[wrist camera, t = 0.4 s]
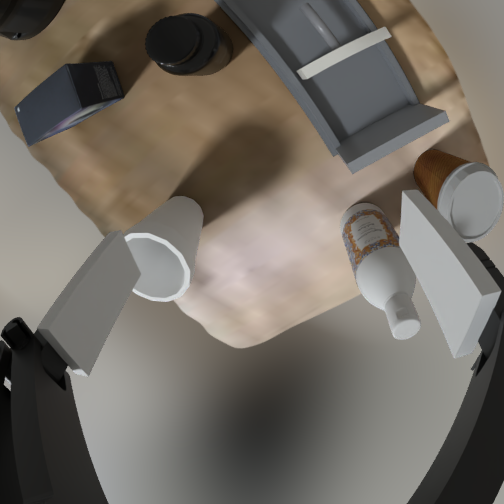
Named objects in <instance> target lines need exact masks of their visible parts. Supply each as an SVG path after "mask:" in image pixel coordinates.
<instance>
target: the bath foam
mask: <svg viewBox="0 0 504 504" xmlns="http://www.w3.org/2000/svg"><path fill="white" fill-rule="evenodd" d="M340 231H341V234H342V237H343V241H344V244H345V247H346V250H347V253H348V256H349V259H350V262H351V266H352V269H353V272H354V276H355V279H356V282H357V285H358V287H359V289H360V291H361V293H362V295H363V296H364V297H365V299H366V300H367V301H368V302H370V303H371V304H372V305H374V306H375V307H377V308H379V309H381V310H384V311H385V312H386V316H387V319H388V322H389V325H390V328H391V331H392V334H393V336H394V337H395V338H396V339H400V340H403V339H408V338H410V337H412V336H414V335H415V334H416V333H417V332H418V331H419V329H420V327H421V322H420V319H419V316H418V314H417V311H416V309H415V307H414V304H413V302H412V300H411V298H412V295H413V292H414V288H415V284H416V275H415V273H414V271H413V269H412V267H411V265H410V263H409V262H408V260H407V258H406V256H405V254H404V253H403V251H402V249H401V247H400V246H399V236H398V234H397V233H396V231H395V229H394V228H393V226H392V225H391V223H390V222H389V220H388V218H387V217H386V216H385V214H384V213H383V211H382V210H381V209H380V208H379V207H378V206H376V205H374V204H371V203H360V204H357V205H354V206H352V207H351V208H349V209H348V210H347V211H346V212H345V214H344V215H343V217H342V219H341V223H340Z"/></svg>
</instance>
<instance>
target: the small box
mask: <svg viewBox="0 0 504 504" xmlns="http://www.w3.org/2000/svg"><path fill="white" fill-rule="evenodd" d="M123 98H124V94H123V90H122V88H121V85H120V82H119V79H118V76H117V73H116V70H115V67H114V64H113V62H112V61H106V62H92V63H77V64H65V65H64V66H62V67H61V68H60V69H58V70H57V71H56V72H55V73H53V74H52V75H51V76H50V77H48V78H47V79H46V80H45V81H43V82H42V83H41V84H40V85H39V86H37V87H36V88H35V89H34V90H33V91H32V92H31V93H29V94H28V95H27V96H26V97H25V98H24V99H23V100H22V101H21V102H20V103H19V104H18V105H17V106H16V107H15V108H14V109H15V112H16V115H17V118H18V121H19V124H20V127H21V129H22V132H23V135H24V137H25V140H26V142H27V145H28V147H29V146H31V145H33V144H35V143H38V142H40V141H42V140H44V139H46V138H48V137H51V136H53V135H55V134H57V133H60V132H62V131H64V130H67V129H69V128H71V127H74V126H75V125H77V124H79V123H80V122H82V121H84V120H85V119H87V118H89V117H90V116H92V115H94V114H96V113H97V112H99V111H101V110H103V109H105V108H106V107H108V106H110V105H112V104H114V103H116V102H117V101H119V100H121V99H123Z"/></svg>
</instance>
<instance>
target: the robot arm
mask: <svg viewBox="0 0 504 504" xmlns="http://www.w3.org/2000/svg"><path fill="white" fill-rule="evenodd" d="M63 2H64V0H0V36H2V37H5V38H8V39H10V40H26V39H30V38H32V37H34V36H36V35H37V34H39V33H40V32H41V31H42V30H43V29H44V28H46V26H47V25H48V24H49V23H50V22H51V21H52V20H53V18H54V17H55V15H56V14H57V12H58V11H59V9H60V8H61V6H62V4H63ZM399 246H400V247H401V249H402V251H403V253H404V254H405V256H406V258H407V260H408V262H409V263H410V265H411V267H412V269H413V271H414V273H415V275H416V277H417V279H418V280H419V282H420V284H421V286H422V288H423V290H424V292H425V294H426V296H427V298H428V300H429V302H430V305H431V307H432V309H433V311H434V313H435V315H436V317H437V320H438V322H439V324H440V326H441V329H442V331H443V333H444V336H445V338H446V341H447V343H448V345H449V348H450V350H451V353H452V355H453V358H458V357H461V356H465V355H468V354H471V353H472V352H473V350H474V348H475V347H476V345H477V343H478V342H479V344H480V346H481V349H482V351H481V353H480V355H479V357H478V358H477V360H476V362H475V363H474V365H473V367H472V368H471V370H474V369H475V370H474V373H473V376H472V379H471V382H470V384H469V387H468V390H467V392H466V395H465V397H464V400H463V402H462V405H461V408H460V410H459V412H458V414H457V417H456V419H455V421H454V423H453V425H452V427H451V430H450V432H449V434H448V436H447V438H446V440H445V442H444V444H443V446H442V448H441V449H440V451H439V454H438V455H437V457H436V459H435V460H434V462H433V464H432V466H431V467H430V469H429V471H428V472H427V474H426V476H425V477H424V479H423V480H422V482H421V484H420V485H419V487H418V489H417V490H416V491H415V493H414V494H413V496H412V497H411V499H410V500H409V502H408V503H407V504H493V502H494V500H495V498H496V496H497V494H498V492H499V490H500V488H501V485H502V483H503V481H504V277H503V275H502V274H501V273H500V271H499V270H498V269H497V268H495V265H494V263H493V262H492V261H491V260H490V258H489V257H488V256H487V255H486V253H485V252H484V251H483V250H482V249H481V248H480V247H478V246H477V245H475V244H474V243H472V242H470V243H465V241H464V240H463V239H462V238H461V236H460V235H459V234H458V233H457V232H456V231H455V229H454V228H453V227H452V226H451V225H450V224H449V223H448V221H447V220H446V219H445V218H444V217H443V216H442V215H441V214H440V213H439V211H438V210H437V209H436V208H435V207H434V206H433V205H432V204H431V203H430V202H429V201H428V200H427V199H426V198H425V197H424V196H423V195H422V194H421V193H420V192H419V191H418V190H404V191H402V208H401V225H400V238H399ZM140 276H141V272H140V270H139V268H138V266H137V264H136V262H135V260H134V258H133V256H132V253H131V251H130V249H129V247H128V245H127V242H126V240H125V238H124V236H123V233H122V231H121V230H119V231H114V232H109V234H108V235H107V236H106V237H105V238H104V239H103V241H102V242H101V243H100V244H99V245H98V246H97V248H96V249H95V250H94V251H93V253H92V254H91V255H90V256H89V257H88V259H87V260H86V261H85V263H84V264H83V265H82V266H81V268H80V269H79V270H78V271H77V273H76V274H75V275H74V277H73V278H72V279H71V281H70V282H69V283H68V284H67V286H66V287H65V289H64V290H63V291H62V293H61V294H60V295H59V297H58V298H57V299H56V301H55V302H54V304H53V305H52V307H51V308H50V309H49V311H48V312H47V314H46V315H45V317H44V318H43V320H42V321H41V323H40V324H39V326H38V327H37V330H36V332H35V333H34V334H33V333H32V331H31V330H30V329H29V327H28V326H27V325H26V324H25V322H24V321H23V319H22V318H20V317H17V318H14V319H13V320H11V321H10V322H9V323H8V324H7V325H6V326H5V327H4V329H3V330H2V333H1V337H2V338H3V339H4V340H5V341H6V343H7V344H8V345H9V346H10V347H11V348H9V347H8V346H7V345H6V344H5V342H4V341H2V340H1V341H0V504H108V501H107V499H106V497H105V495H104V492H103V490H102V487H101V485H100V482H99V480H98V477H97V474H96V472H95V469H94V466H93V463H92V460H91V457H90V455H89V451H88V448H87V445H86V442H85V438H84V435H83V432H82V428H81V424H80V420H79V417H78V412H77V408H76V404H75V400H74V395H73V390H72V386H71V380H70V376H69V374H68V373H67V372H66V371H65V370H66V368H67V366H69V367H70V368H71V369H72V370H73V371H74V372H75V373H76V374H78V375H84V376H89V375H90V372H91V370H92V368H93V366H94V364H95V362H96V360H97V357H98V355H99V353H100V351H101V349H102V347H103V345H104V343H105V341H106V339H107V337H108V335H109V333H110V331H111V329H112V327H113V325H114V323H115V321H116V319H117V317H118V316H119V314H120V312H121V310H122V308H123V306H124V304H125V303H126V301H127V299H128V297H129V295H130V293H131V292H132V290H133V288H134V286H135V284H136V283H137V281H138V279H139V277H140ZM5 379H6V381H7V382H8V383H9V384H10V385H11V391H10V390H9V389H8V388H6V387H5V386H4V381H5Z"/></svg>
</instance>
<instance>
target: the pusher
mask: <svg viewBox="0 0 504 504" xmlns="http://www.w3.org/2000/svg"><path fill="white" fill-rule="evenodd" d="M299 8H300V10H301V11H302V12H303V13H304V14H305V16H306V17H307V18H308V19H309V20H310V22H311V23H312V24H313V25H314V27H315V28H316V29H317V31H318V32H319V33H320V34H321V36H322V37H323V38H324V40H325V41H326V43H327V44H328V45H329V47H330V48H331V49H332V52H330V53H328V54H326V55H324V56H322V57H321V58H319V59H317V60H315V61H313V62H311V63H310V64H308V65H306V66H304V67H303V68H301V69H299V70H298V71H296V72H297V73H298V74H299V76H300V77H301V79H309V78H310V77H312V76H314V75H316V74H317V73H319V72H321V71H323V70H325V69H326V68H328V67H330V66H332V65H334V64H336V63H338V62H340V61H342V60H343V59H345V58H347V57H349V56H351V55H353V54H355V53H357V52H359V51H362V50H364V49H366V48H368V47H370V46H372V45H374V44H376V43H379V42H381V41H383V40H385V39H388V38H390V37H392V36H391V35H390V33H389V32H388V30H387V29H386V27H383V28H380V29H378V30H376V31H373V32H371V33H369V34H367V35H365V36H362V37H360V38H358V39H356V40H354V41H352V42H350V43H348V44H346V45H344V46H342V45H341V44H340V42H339V41H338V40H337V38H336V37H335V36H334V34H333V33H332V32H331V30H330V29H329V28H328V26H327V25H326V24H325V22H324V21H323V20H322V19H321V17H320V16H319V15H318V14H317V12H316V11H315V10H314V9H313V7H312V6H311V5H310V4H309V3H305V4H303V5H302V6H300V7H299Z"/></svg>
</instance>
